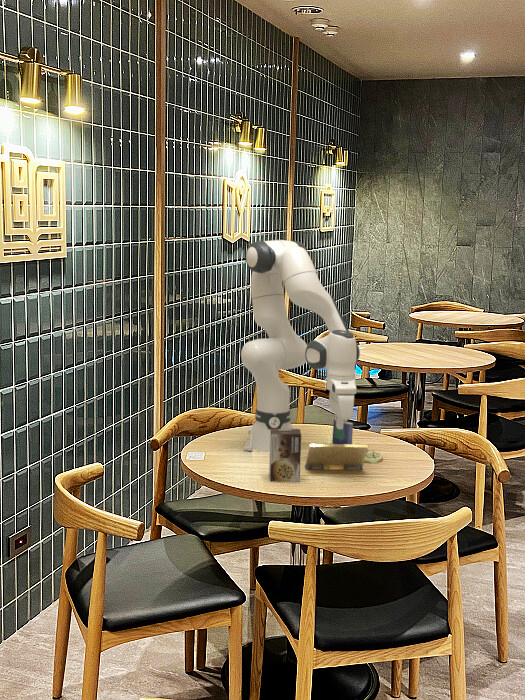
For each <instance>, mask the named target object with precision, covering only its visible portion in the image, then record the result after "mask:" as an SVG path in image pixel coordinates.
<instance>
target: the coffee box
mask: <svg viewBox="0 0 525 700" xmlns="http://www.w3.org/2000/svg"><path fill="white" fill-rule="evenodd" d="M301 453H302V433H301V429H300V428H294V429H272V428H271V432H270V452H269V462H268V463H269V466H268V467H269V469H268V470H269V473H268V478H269V482H273V483H275V482H276V483H300V482H301V461H302V460H301V457H302V456H301V455H302V454H301Z"/></svg>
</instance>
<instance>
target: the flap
mask: <svg viewBox="0 0 525 700" xmlns="http://www.w3.org/2000/svg"><path fill="white" fill-rule="evenodd" d="M368 449H369V445H368V444H353V443H352V444H332V443H331V444H330V443H309V445H308V450H307V454H306V459H305V464H306V465H324V470H325V471H330V470H331V471H332V470H333V471H345V470H344V467H343V466H362V467H363V466H364V465H363V464H364V463H363V462H364V459H365V456H366V453H367V450H368Z"/></svg>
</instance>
